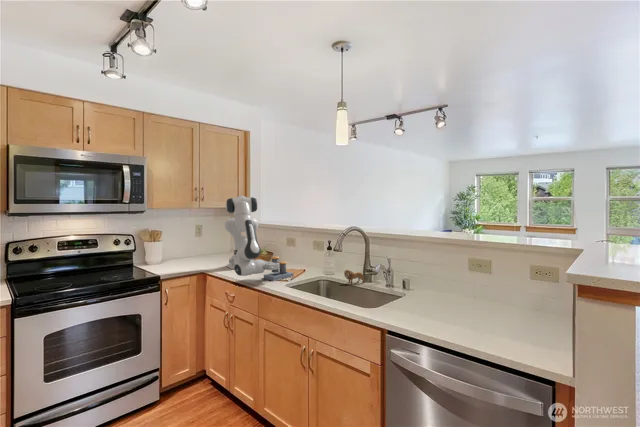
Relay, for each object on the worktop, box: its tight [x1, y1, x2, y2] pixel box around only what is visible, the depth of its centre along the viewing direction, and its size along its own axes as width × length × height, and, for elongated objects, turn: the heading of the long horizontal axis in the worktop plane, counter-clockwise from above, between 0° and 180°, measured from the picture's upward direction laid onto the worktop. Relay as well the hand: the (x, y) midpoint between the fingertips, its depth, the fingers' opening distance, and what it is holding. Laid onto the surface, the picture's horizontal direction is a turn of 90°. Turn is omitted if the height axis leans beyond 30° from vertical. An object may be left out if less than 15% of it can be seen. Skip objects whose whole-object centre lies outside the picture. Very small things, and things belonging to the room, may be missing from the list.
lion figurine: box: [343, 269, 366, 285], centre depth 207 cm, size 15×5×9 cm, turn 112°
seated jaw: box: [279, 261, 288, 274], centre depth 227 cm, size 6×6×10 cm
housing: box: [263, 270, 295, 282], centre depth 224 cm, size 11×17×2 cm, turn 135°
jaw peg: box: [270, 255, 280, 273], centre depth 222 cm, size 6×6×10 cm
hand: (276, 263), depth 222 cm, fingers closed on jaw peg, 5 cm apart
